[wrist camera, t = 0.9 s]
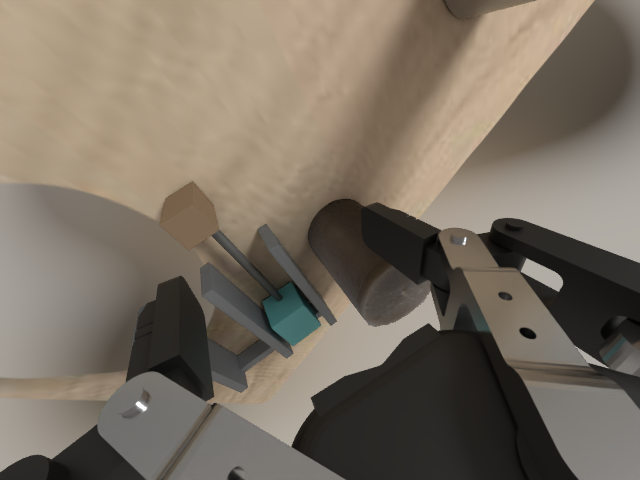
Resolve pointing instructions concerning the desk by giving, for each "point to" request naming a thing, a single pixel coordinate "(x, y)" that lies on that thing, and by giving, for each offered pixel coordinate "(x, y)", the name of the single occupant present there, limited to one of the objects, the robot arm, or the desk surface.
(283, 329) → the block ended dumbbell
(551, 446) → the robot arm
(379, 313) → the pillar candle
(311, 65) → the desk surface
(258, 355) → the lane rack
